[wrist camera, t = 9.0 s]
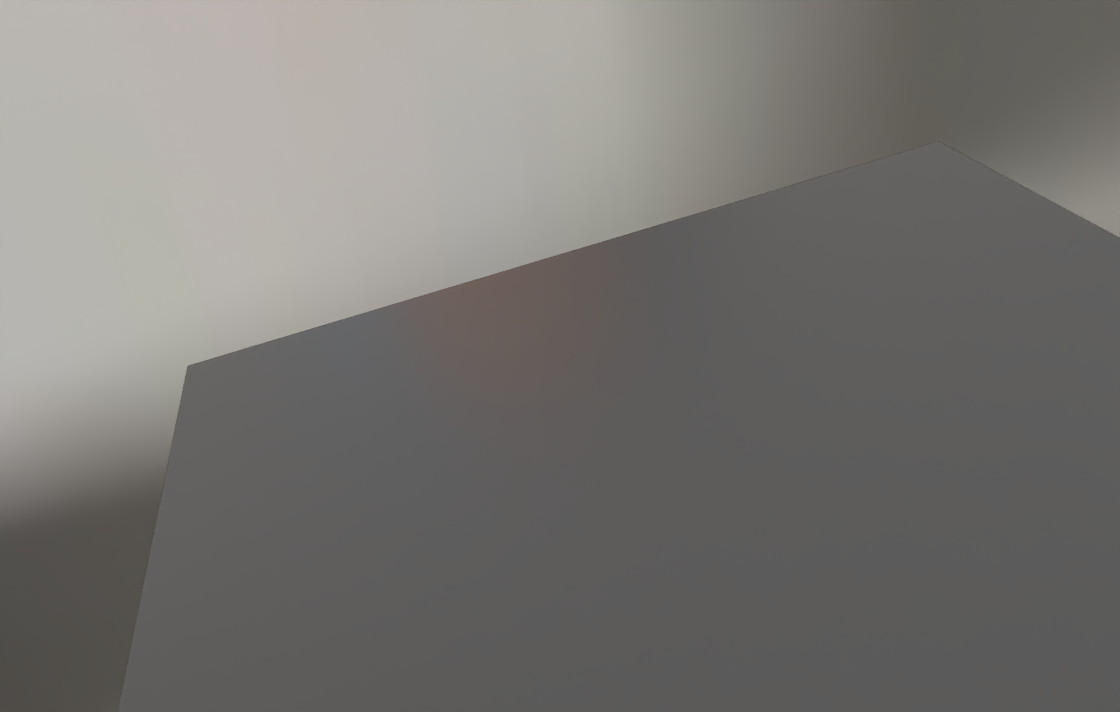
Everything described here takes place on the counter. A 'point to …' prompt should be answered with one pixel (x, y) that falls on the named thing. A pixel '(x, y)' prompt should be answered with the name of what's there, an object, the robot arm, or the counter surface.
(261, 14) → the counter surface
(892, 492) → the matte grey cuboid
